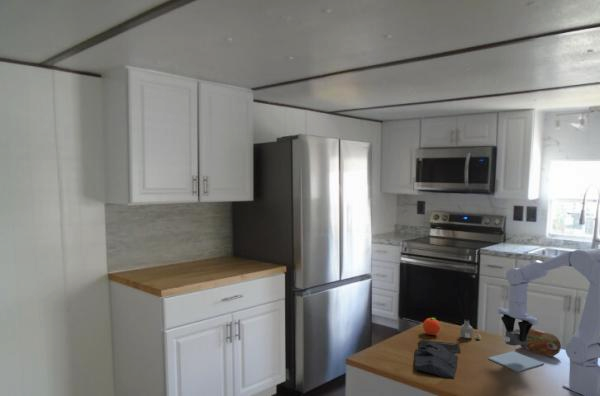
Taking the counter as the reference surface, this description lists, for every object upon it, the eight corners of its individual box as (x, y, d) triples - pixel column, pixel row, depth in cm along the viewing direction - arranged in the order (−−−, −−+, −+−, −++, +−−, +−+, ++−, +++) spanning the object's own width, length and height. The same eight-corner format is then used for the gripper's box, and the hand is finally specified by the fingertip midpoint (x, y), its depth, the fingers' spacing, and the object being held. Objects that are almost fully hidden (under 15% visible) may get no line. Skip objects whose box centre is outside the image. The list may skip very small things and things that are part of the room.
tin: (516, 347, 168) (517, 325, 168) (520, 345, 170) (521, 324, 170) (557, 360, 156) (558, 337, 156) (561, 358, 158) (562, 335, 158)
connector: (529, 343, 153) (530, 332, 153) (508, 346, 150) (508, 335, 150) (520, 339, 157) (521, 328, 157) (499, 342, 154) (500, 331, 154)
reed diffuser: (456, 339, 175) (457, 291, 175) (452, 333, 182) (454, 287, 182) (482, 341, 174) (484, 292, 173) (478, 335, 181) (479, 288, 180)
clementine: (428, 330, 186) (429, 313, 186) (443, 334, 181) (444, 317, 181) (419, 334, 180) (420, 317, 180) (435, 338, 176) (435, 321, 175)
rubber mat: (543, 364, 152) (543, 363, 152) (518, 372, 146) (518, 370, 145) (513, 352, 163) (513, 351, 163) (488, 358, 156) (488, 357, 156)
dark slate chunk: (407, 373, 145) (408, 359, 144) (416, 350, 165) (416, 337, 165) (455, 381, 139) (456, 367, 138) (458, 356, 159) (459, 344, 159)
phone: (419, 339, 172) (458, 344, 168) (419, 342, 172) (458, 346, 168) (419, 346, 165) (460, 351, 161) (419, 349, 165) (460, 354, 161)
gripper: (544, 305, 149) (542, 343, 149) (507, 295, 162) (505, 330, 162) (531, 307, 145) (529, 347, 146) (494, 297, 158) (493, 333, 159)
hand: (516, 338), depth 154 cm, fingers closed on connector, 4 cm apart
